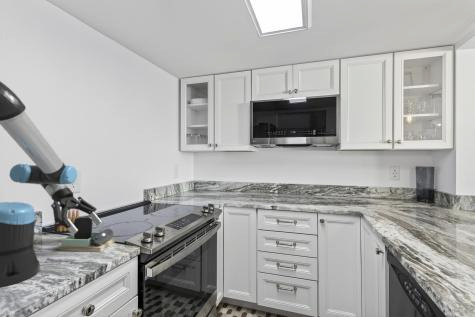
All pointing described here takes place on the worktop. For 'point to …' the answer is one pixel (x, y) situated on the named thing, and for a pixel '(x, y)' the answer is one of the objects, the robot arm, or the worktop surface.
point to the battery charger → (83, 227)
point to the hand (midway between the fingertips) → (88, 228)
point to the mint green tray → (89, 242)
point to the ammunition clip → (60, 227)
